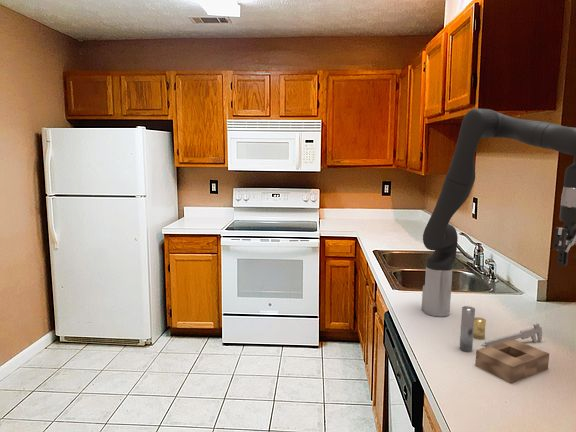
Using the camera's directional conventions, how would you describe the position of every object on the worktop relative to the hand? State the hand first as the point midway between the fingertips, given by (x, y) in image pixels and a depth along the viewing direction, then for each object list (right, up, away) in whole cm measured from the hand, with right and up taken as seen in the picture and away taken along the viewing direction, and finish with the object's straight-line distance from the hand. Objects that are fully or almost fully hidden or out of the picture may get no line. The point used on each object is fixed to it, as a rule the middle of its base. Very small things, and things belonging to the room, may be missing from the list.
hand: (571, 263), depth 119 cm
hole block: (-15, -29, +2) cm, 33 cm away
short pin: (-16, -26, +22) cm, 38 cm away
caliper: (-7, -28, +17) cm, 33 cm away
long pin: (-23, -28, +13) cm, 38 cm away
